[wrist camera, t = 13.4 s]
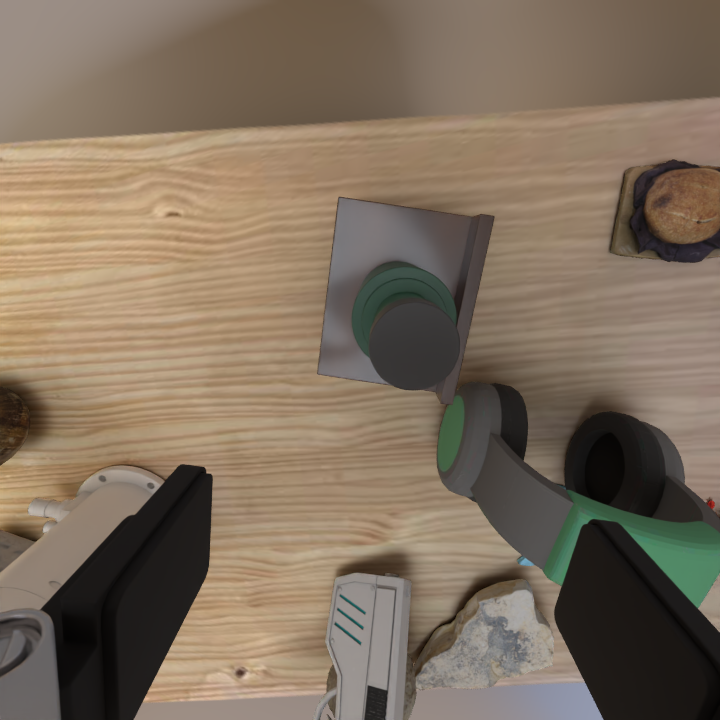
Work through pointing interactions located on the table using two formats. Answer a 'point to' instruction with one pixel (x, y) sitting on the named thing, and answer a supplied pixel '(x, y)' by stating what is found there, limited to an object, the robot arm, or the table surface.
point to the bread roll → (669, 213)
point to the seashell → (12, 423)
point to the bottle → (406, 325)
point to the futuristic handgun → (368, 646)
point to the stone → (488, 641)
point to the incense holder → (11, 548)
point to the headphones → (578, 487)
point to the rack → (405, 244)
